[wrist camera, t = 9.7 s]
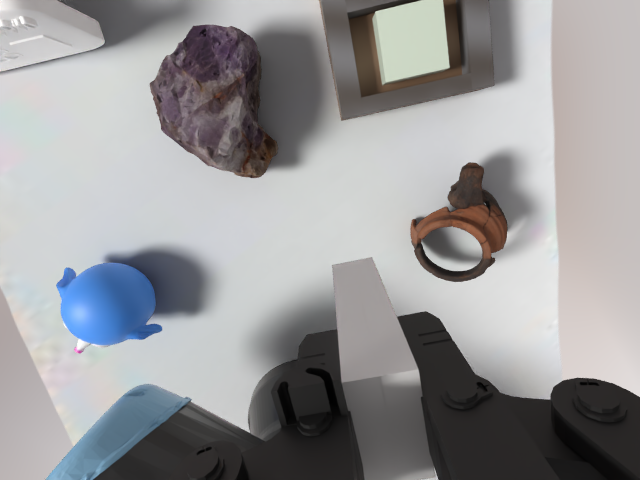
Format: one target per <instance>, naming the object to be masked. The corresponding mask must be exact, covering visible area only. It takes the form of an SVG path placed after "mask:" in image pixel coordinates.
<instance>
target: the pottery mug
mask: <svg viewBox="0 0 640 480" xmlns="http://www.w3.org/2000/svg"><path fill="white" fill-rule="evenodd" d="M483 174H484V168H483V167H481V166H479V165H478V164H477V163H468V164H466V165H465V166H463V167H462V169H461V172H460V177H459V181H458V182H457V183H455V184H454V185H452V186H451V191H450V192H449V195H448V200H449V201H450V204H451V205H452V206H453V207H455V208H458V209H457V210H455V211H452V212H450V211H449V209H448V207H444V208H442V209H439V210H437V211H436V212H433V213H431V214H430V215H428V216H427V217H426V218H424V219H423V220H421V221H420V222H419V223H418V225H417V226H416V220H415V219H413V220H412V223H411V239H412V244H413V246H414V248H415V250H414V252H415V255H416V257H417V259H418V261H419V262H420V264H421V265H422V266H423V268H424V269H426V270H427V271H428V272H430V273H432V274H433V275H435V276H436V277H438V278H441V279H444V280H447V281H453V282H463V281H468V280H471V279H474V278H476V277H478V276H480V275H482V274H483V273H484V272H485V270H486V269H487V268H488V267H490V266H491V265H492V264H493V263H494V262H495V258H492V257H491V253H494V252H497V251H499V250H501V249H503V247H504V244H505V242H506V238H507V221H506V219H505V216H504V213H503V212H502V210H501V208H500V207H499V205H498V203H497V201H496V200H495V198H494V197H493V196H492V195H491V194H490V193H489V192H487V191H485V190H483V189H482V178H483ZM484 202H485V203H486V205H484ZM451 226H453V227H457V228H460V229H463V230H465V231H467V232H469V233H470V234H472V235H473V236H474V237H475V238H476V239H477V240H478V241H479V243H480V245H481V247H482V251H483V254H482V260H481V261H480V263H479V264H478V265H477V266H475V267H474V268H472V269H470V270H467V271H450V270H446V269H443V268H441V267H439V266H437V265H436V264H434V263H433V262H432V261H431V260H430V259H429V258H428V257H427V256H426V254H425V252H424V250H423V246H422V244H421V239H424V238H425V237H426V236H427V235H428V234H429V233H430V232H431V231H432V230H435V229H437V228H441V227H451Z"/></svg>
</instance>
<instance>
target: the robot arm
mask: <svg viewBox="0 0 640 480" xmlns="http://www.w3.org/2000/svg"><path fill="white" fill-rule="evenodd" d="M332 268H333V280H334V293H335V306H336V318H337V329H336V330H330V331H325V332H320V333H314V334H309V335H307V336H306V337H305V339H304V340H303V341H302V343H301V344H300V346H299V353H298V360H296V361H291V362H287V363H284V364H282V365H280V366H278V367H276V368H274V369H272V370H271V371H270V372H268V373H267V374H266V375H265V376H264V377H263V378H262V379H261V380H260V381H259V383H258V384H257V386H256V388H255V390H254V392H253V395H252V399H251V403H250V406H249V412H248V424H249V429H250V433H249V432H247V431H245V430H243V429H241V428H239V427H237V426H235V425H233V424H232V423H230V422H228V421H226V420H224V419H222V418H220V417H218V416H217V415H215V414H213V413H211V412H209V411H207V410H205V409H203V408H202V407H200V406H198V405H196V404H194V403H192V402H190V401H191V400H192V399H190V398H189V397H185V398H183V397H180V396H178V395H176V394H174V393H172V392H169V391H167V390H165V389H163V388H161V387H158V386H156V385H152V384H144V385H140V386H137V387H135V388H133V389H131V390H130V391H128V392H127V393H125V394H124V395H123V396H122V397H121V398H120V399H119V400H118V401H117V402H116V403H115V404H114V405H112V406H111V407H110V408H109V409H108V410H107V411H106V412H105V413H104V414H103V416H102V417H101V418H100V419H99V420H98V421H97V422H96V423H95V424H94V425H93V426H92V427H91V428H90V429H89V430H88V431H87V433H86V434H85V435H84V436H83V437H82V438H81V439H80V440H79V441H78V442H77V444H76V445H75V446H74V447H73V448H72V449H71V450H70V452H69V453H68V454H67V455H66V456H65V457H64V458H63V459H62V461H61V462H60V463H59V464H58V465H57V466H56V468H55V469H54V470H53V471H52V473H50V475H49V476H48V477H47V478H46V480H421V479H427V478H433V477H435V471H434V467H435V470H436V473H437V476H438V479H439V480H640V397H639V396H637V395H635V394H633V393H631V392H630V391H628V390H626V389H623V388H621V387H619V386H617V385H615V384H613V383H609V382H605V381H601V380H597V379H589V378H574V379H569V380H564V381H562V382H560V383H559V384H557V385H556V386H554V388H553V390H552V393H551V396H550V397H551V400H544V399H530V398H520V397H513V396H509V395H505V394H502V393H500V392H499V391H498V389H497V388H496V387H495V386H493V385H492V384H491V383H490V382H489V381H488V380H486V379H484V378H482V377H480V376H477V375H475V373H474V372H473V370H472V369H471V367H470V366H469V364H468V363H467V361H466V359H465V358H464V356H463V355H462V353H461V352H460V350H459V349H458V347H457V345H456V344H455V342H454V341H452V338H451V336H450V335H449V333H448V332H447V331H446V328H445V327H444V325H443V324H442V322H441V321H440V319H439V318H437V317H435V316H434V315H432V314H430V313H428V312H427V311H425V312H420V313H415V314H409V315H404V316H399V317H397V316H396V314H395V311H394V309H393V307H392V304H391V302H390V299H389V297H388V295H387V292H386V290H385V287H384V285H383V282H382V280H381V278H380V275H379V273H378V270H377V268H376V266H375V263H374V261H373V258H372V257H371V258H366V259H361V260H356V261H351V262H346V263H341V264H336V265H332Z"/></svg>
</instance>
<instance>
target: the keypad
mask: <svg viewBox="0 0 640 480" xmlns="http://www.w3.org/2000/svg"><path fill="white" fill-rule="evenodd" d="M417 1H421V0H319V3H320V8H321V14H322V19H323V24H324V30H325V35H326V41H327V46H328V52H329V57H330V62H331V68H332V73H333V79H334V84H335V89H336V95H337V100H338V106H339V111H340V117H341V121H342V120H346V119H351V118H355V117H360V116H364V115H369V114H373V113H378V112H382V111H387V110H391V109H396V108H400V107H405V106H409V105H414V104H418V103H423V102H427V101H432V100H436V99H441V98H445V97H450V96H454V95H459V94H463V93H468V92H472V91H477V90H481V89H484V88H488V87H491V86H494V71H493V56H492V41H491V26H490V12H489V0H443V6H444V16H445V26H446V36H447V46H448V56H449V66H450V68H449V69H447V70H445V71H443V72H439V73H435V74H431V75H426V76H422V77H417V78H413V79H409V80H404V81H400V82H395V83H391V84H387V85H382V80H381V74H380V67H379V60H378V54H377V47H376V40H375V34H374V27H373V20H372V18H373V16H374V14H375V11H379V10H384V9H388V8H392V7H396V6H400V5H404V4H408V3H413V2H417Z"/></svg>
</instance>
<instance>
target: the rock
mask: <svg viewBox="0 0 640 480" xmlns="http://www.w3.org/2000/svg"><path fill="white" fill-rule="evenodd" d="M260 63H261V58H260V54H259V51H258V50H257V45H256V43H255V41H254V39H253V38H251V37H250V36H249V35H247V34H246V33H244V32H243V31H241V30H240V29H237V28H235V27H232V26H230V27H222V26H217V25H200V26H193V27H192V29H191V30H190V31H189V33H188V34H187V36H186V38H185V39H184V40H183V42H180V43H179V44H178V46H177V48H176V50H175V51H174V53H172V54H171V55H167V56H166V57H165V59H164V60H163V62H162V64H161V66H160V69H159V72H158V75H157V77H156V79H155V80H154V81H152V82H151V83H150V88H151V93H152V95H153V96H154V97H153V100H154V102H155V105H156V109H157V114H158V116H159V120H160V123H161V130H162V131H163V132H164V133H165V134H166V135H167V136H169V137H170V138H172V139H173V140H174V141H175V142H176V143H178V144H179V145H180V146H181V147H183V148H184V149H185V150H186V151H188V152H190V153H192V154H194V155H196V156H197V157H198V158H199V159H201V160H202V161H203V162H204V163H205V164H207V165H208V166H212V167H215V168H217V169H220V170H223V171H230V172H233V173H235V174H236V175H238V176H242V177H250V178H257V177H261V176H262V175H263V174H264V173H265V172H266V170H267V167H268V165H269V163H270V161H271V159H272V157H274V156H275V155H276V154H277V150H278V145H277V142H276V141H275V140H274V139H272V138H271V137H270V136H269V135H268V134H267V133H266V132H265V131H264V130H263V128H262V127H261V126H260V125H259V124H258V123H257V122H258V116H257V109H258V107H259V104H260V96H259V91H258V87H259V80H260V79H261V66H260Z"/></svg>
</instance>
